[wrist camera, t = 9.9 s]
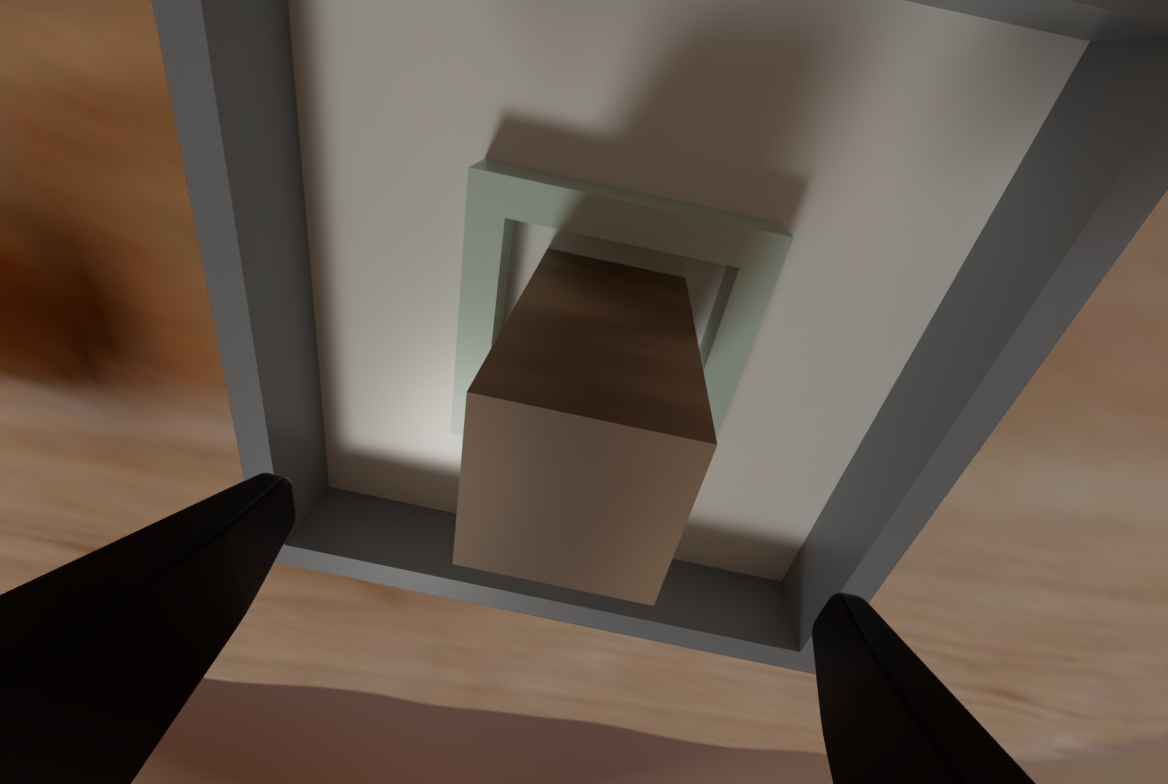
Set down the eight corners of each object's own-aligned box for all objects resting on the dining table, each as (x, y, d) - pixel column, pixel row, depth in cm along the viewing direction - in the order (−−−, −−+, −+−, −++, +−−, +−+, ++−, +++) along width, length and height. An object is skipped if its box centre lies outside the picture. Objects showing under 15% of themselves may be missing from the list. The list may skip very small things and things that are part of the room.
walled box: (1131, 0, 12) (1325, -28, 9) (790, 582, 22) (816, 674, 19) (252, -195, 12) (93, -303, 8) (319, 483, 22) (259, 558, 19)
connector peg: (685, 277, 15) (717, 445, 8) (650, 395, 17) (653, 605, 10) (547, 248, 15) (467, 392, 8) (529, 369, 17) (452, 564, 10)
